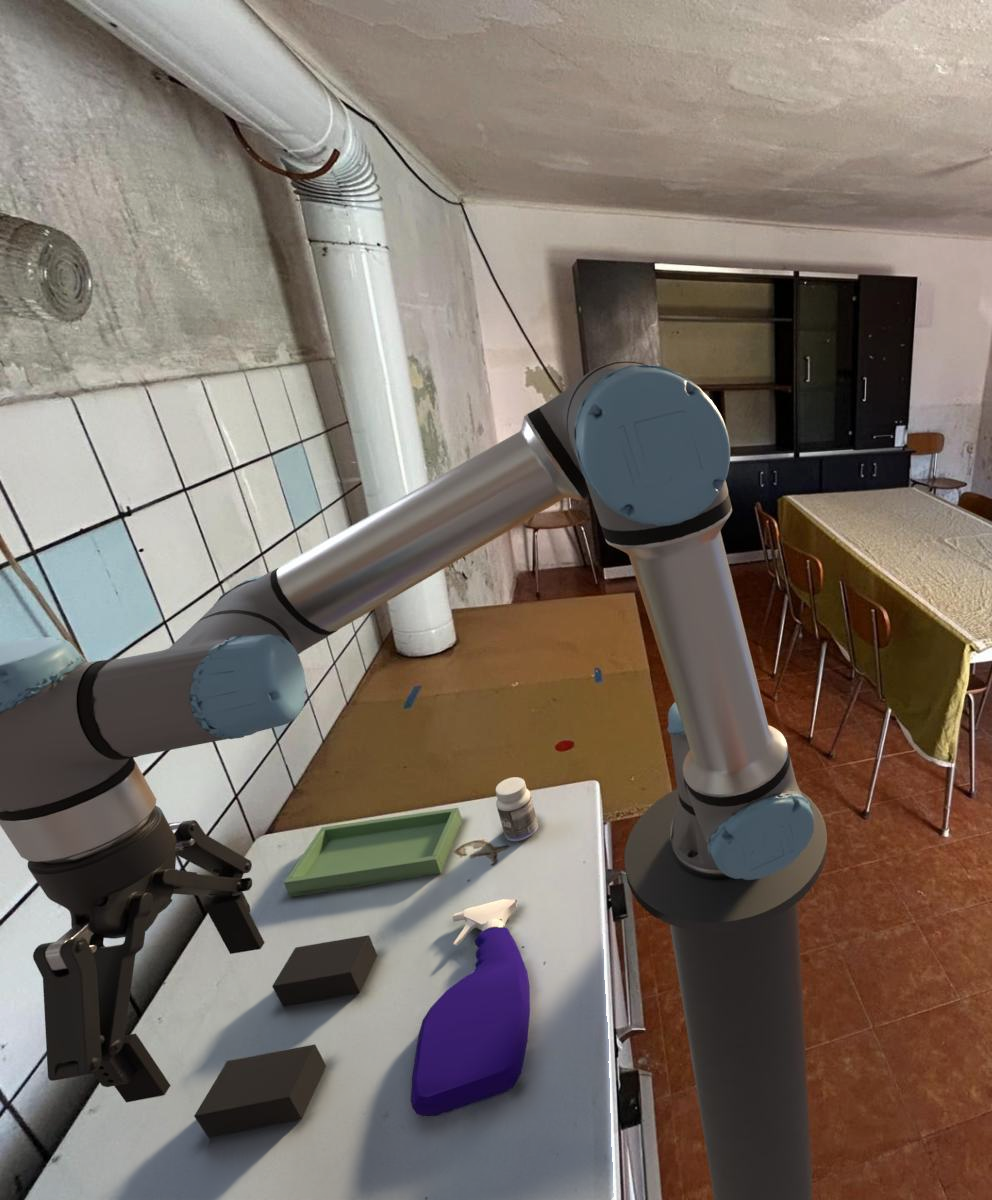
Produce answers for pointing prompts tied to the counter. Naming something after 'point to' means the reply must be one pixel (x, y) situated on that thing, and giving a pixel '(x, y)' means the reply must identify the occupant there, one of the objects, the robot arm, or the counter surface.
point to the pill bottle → (516, 809)
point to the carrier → (375, 852)
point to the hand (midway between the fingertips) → (203, 1013)
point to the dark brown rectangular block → (325, 971)
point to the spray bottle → (475, 1022)
